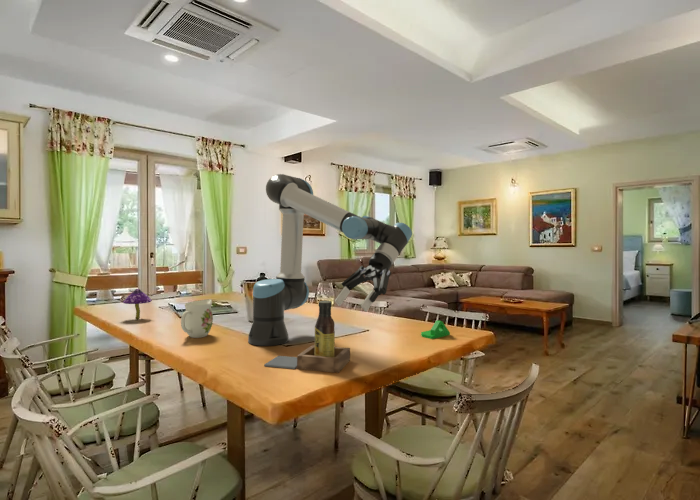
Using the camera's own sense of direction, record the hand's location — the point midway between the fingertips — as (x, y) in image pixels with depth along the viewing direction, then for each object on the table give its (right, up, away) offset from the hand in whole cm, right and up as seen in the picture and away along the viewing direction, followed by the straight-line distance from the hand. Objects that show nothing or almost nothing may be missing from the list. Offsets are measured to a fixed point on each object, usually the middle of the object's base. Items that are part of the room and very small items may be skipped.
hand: (349, 306), depth 131 cm
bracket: (+35, -18, +37) cm, 54 cm away
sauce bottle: (-8, -18, -5) cm, 20 cm away
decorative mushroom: (-103, -16, +64) cm, 123 cm away
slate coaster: (-20, -17, -4) cm, 27 cm away
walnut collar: (-8, -18, -5) cm, 20 cm away
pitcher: (-61, -17, +31) cm, 71 cm away
